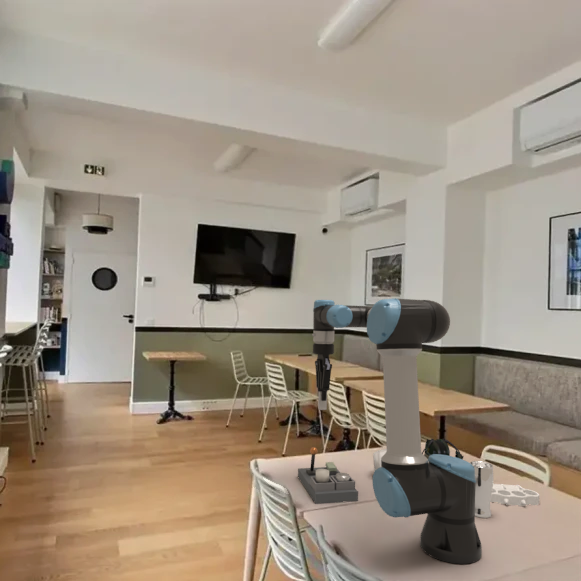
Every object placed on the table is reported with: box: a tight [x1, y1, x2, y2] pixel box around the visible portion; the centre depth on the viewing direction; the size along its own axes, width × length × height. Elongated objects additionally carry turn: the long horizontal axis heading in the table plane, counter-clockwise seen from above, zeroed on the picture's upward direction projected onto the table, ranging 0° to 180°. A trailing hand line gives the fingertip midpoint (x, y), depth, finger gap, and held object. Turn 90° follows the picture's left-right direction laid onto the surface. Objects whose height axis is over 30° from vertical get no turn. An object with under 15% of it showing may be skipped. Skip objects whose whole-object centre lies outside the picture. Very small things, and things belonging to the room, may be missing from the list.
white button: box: [316, 469, 329, 483], centre depth 158 cm, size 4×4×3 cm
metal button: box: [336, 472, 351, 482], centre depth 159 cm, size 4×4×3 cm
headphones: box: [421, 438, 464, 460], centre depth 192 cm, size 13×13×20 cm
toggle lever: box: [309, 446, 319, 471], centre depth 169 cm, size 3×3×9 cm
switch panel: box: [297, 466, 359, 505], centre depth 165 cm, size 24×14×6 cm, turn 13°
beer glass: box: [469, 460, 494, 519], centre depth 148 cm, size 7×7×15 cm
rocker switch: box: [324, 461, 338, 471], centre depth 172 cm, size 4×3×1 cm, turn 13°
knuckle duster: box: [490, 483, 540, 507], centre depth 160 cm, size 3×18×15 cm
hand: (322, 409), depth 172 cm, fingers closed
